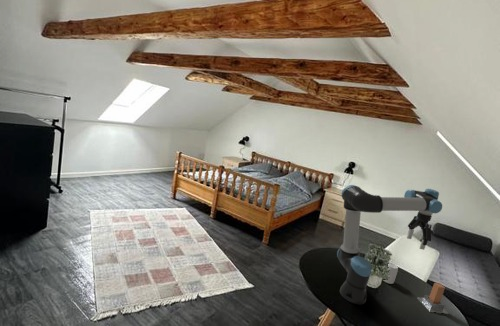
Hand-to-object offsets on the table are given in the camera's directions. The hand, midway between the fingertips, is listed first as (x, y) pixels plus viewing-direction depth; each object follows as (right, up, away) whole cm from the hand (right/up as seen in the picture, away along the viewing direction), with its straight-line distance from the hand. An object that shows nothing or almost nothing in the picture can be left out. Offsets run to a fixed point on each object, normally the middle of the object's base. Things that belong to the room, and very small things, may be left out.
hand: (415, 243), depth 181 cm
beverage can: (-12, -29, +12) cm, 34 cm away
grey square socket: (+6, -37, -7) cm, 38 cm away
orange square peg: (+7, -36, -7) cm, 37 cm away
